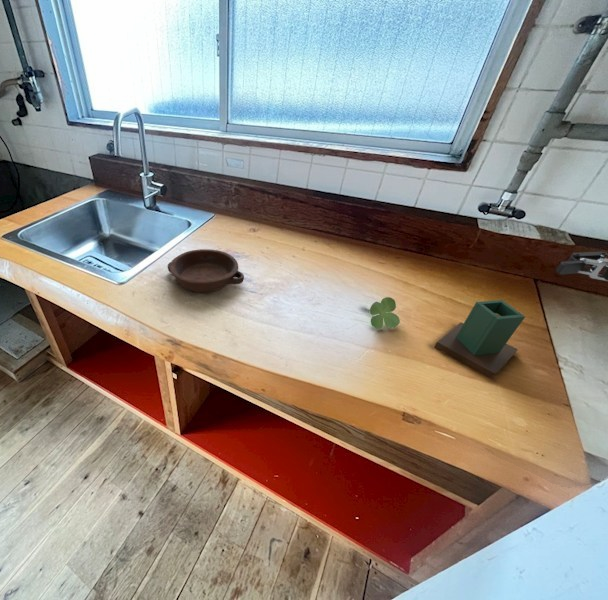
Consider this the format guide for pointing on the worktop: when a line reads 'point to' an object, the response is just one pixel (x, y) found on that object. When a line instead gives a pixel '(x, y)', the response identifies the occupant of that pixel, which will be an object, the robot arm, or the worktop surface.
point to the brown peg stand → (481, 363)
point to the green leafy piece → (384, 314)
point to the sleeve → (489, 327)
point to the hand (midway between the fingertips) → (585, 281)
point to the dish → (205, 270)
